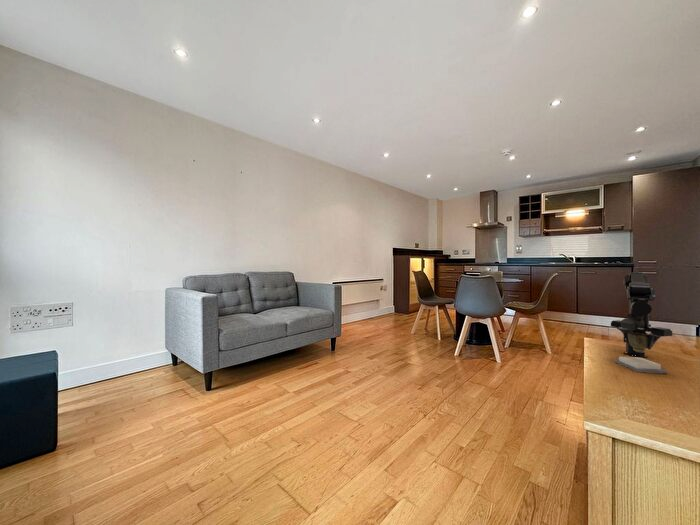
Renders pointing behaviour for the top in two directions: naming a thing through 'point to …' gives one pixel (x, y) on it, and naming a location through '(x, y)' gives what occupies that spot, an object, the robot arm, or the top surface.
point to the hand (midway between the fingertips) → (639, 347)
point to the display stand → (640, 365)
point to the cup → (638, 341)
